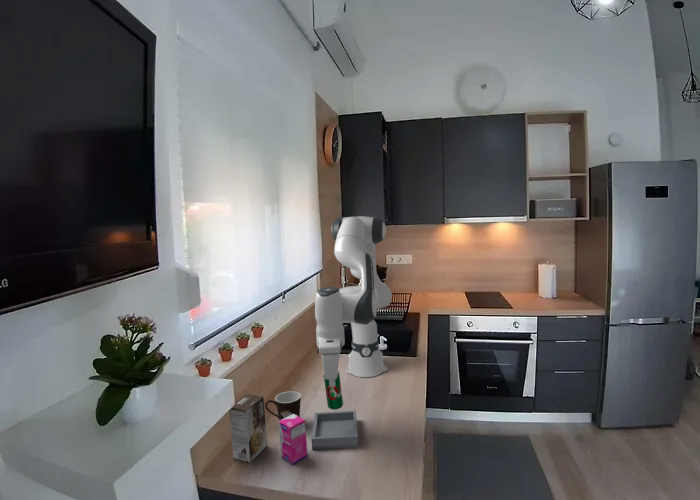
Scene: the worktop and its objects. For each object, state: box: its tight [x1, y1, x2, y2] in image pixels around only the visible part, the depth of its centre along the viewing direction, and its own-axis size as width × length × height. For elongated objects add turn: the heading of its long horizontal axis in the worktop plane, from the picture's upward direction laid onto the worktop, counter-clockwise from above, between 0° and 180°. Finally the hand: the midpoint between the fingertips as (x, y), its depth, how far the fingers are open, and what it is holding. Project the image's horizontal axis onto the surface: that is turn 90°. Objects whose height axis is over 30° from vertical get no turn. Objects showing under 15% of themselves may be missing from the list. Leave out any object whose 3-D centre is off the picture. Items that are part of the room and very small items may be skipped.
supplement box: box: [278, 414, 309, 465], centre depth 117 cm, size 6×6×12 cm
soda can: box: [323, 370, 344, 411], centre depth 127 cm, size 5×5×12 cm
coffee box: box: [229, 393, 268, 463], centre depth 121 cm, size 9×6×16 cm
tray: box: [311, 410, 359, 451], centre depth 129 cm, size 16×14×4 cm
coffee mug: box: [264, 390, 302, 422], centre depth 136 cm, size 12×9×10 cm
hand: (332, 381), depth 127 cm, fingers closed on soda can, 5 cm apart
